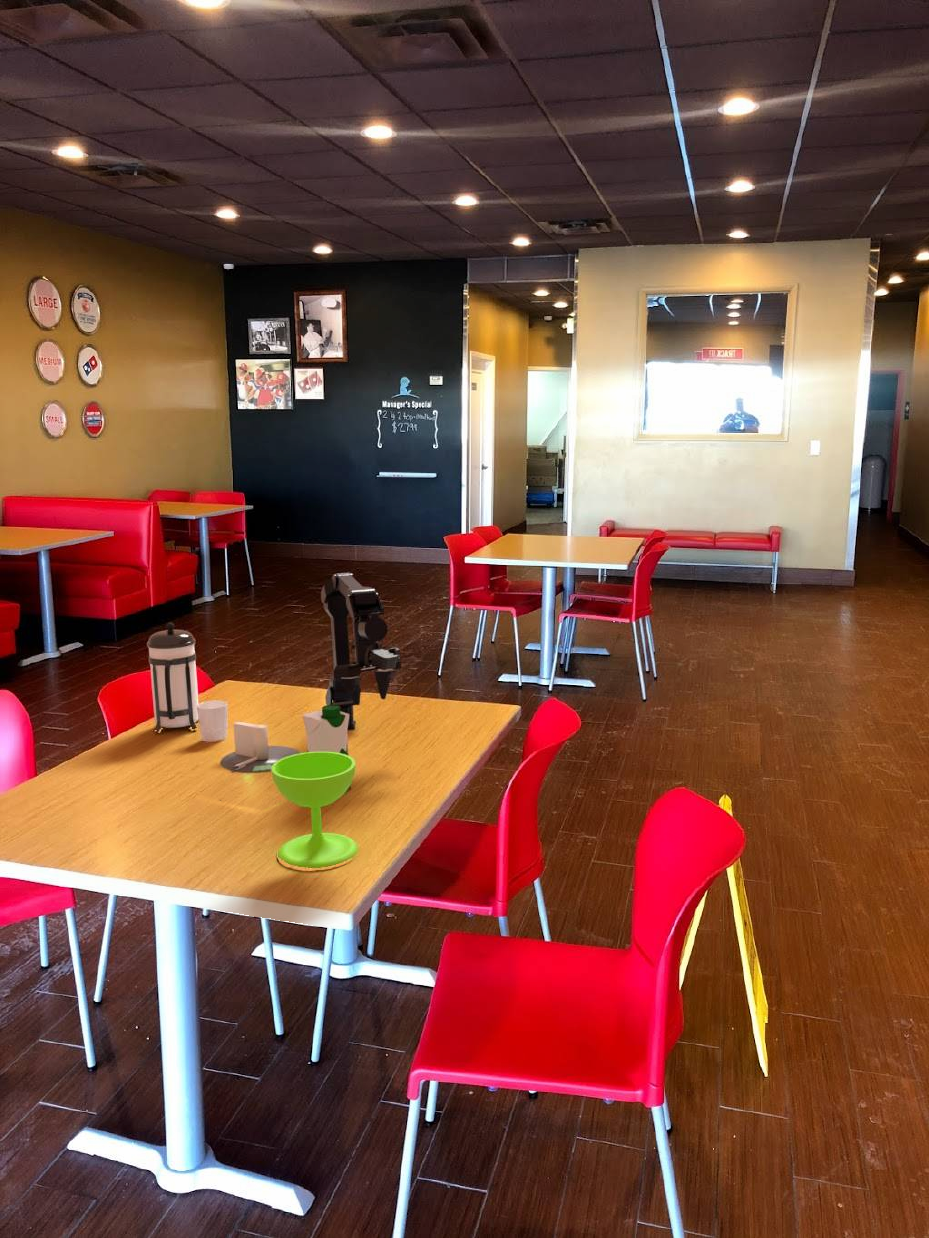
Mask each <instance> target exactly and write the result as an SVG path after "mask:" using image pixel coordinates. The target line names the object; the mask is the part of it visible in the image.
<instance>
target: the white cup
mask: <svg viewBox="0 0 929 1238" xmlns="http://www.w3.org/2000/svg"><path fill="white" fill-rule="evenodd" d="M197 712H198V721H199V722H198V727H199V732H200V736H201V742H202V741H205V742H221V741H223V740H226V739H227V738H228V728H229V727H228V725H229V723H228V717H229V715H228V714H229V713H228V702H227V701H225V700H216V699H215V700H207V701H202V702H198V705H197Z"/></svg>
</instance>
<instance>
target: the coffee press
mask: <svg viewBox="0 0 929 1238" xmlns="http://www.w3.org/2000/svg"><path fill="white" fill-rule="evenodd" d="M165 625H166V626H165V629H166V630H161V631H157V632H154V633H153V634H151V635H150V637H149V638H148V641H147V643H146V646H147V648H148V654H149V655H148V663H149V666H150V667H149V668H150V678H151V690H152V701H153V702H152V703H153V713H154V714H153V715H154V722H155V727H154V729H153V731H154V730H157V731H158V730H159V729H160V728H161V727H162V728H163V730H164V729H166V728H168V729H169V728H170V729H172V728H173V729H174V728H176V729H177V728H183V727H185V728H187V729H188V728H190V727H192V729H195V728H197V727H198V726H197V725H196V722H197V720H198V712H197V705H198V704H199V694H198V693H199V692H198V691H199V690H198V679H197V678H198V677H197V666H196V660H197V654H196V651H195V644H196V638H195V637H194V636H193V634H192V633H191V632H190V631H188V630H184V629H174V628H175V624H174V623H173V622H167V623H166V624H165Z"/></svg>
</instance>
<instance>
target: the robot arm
mask: <svg viewBox="0 0 929 1238" xmlns="http://www.w3.org/2000/svg"><path fill="white" fill-rule="evenodd" d="M379 595H380V594H379V593H378V592H377V591H376V589H375V588H373V587H371V586H363V585H362V584H360V582H358V581H357V580H356V579H355V577H354V574H353V573H352V572H351V573H350V572H340V573H338V572H337V573H335V574H332V577H331V578H330V579H329V580H328V581H326V582H325V583H324V584H323V586H322V587H321V592H320V600H321V603H322V604H323V610H325V612H326V613H327V615H328V616H329V618H330V628H331V629H330V630H331V641H332V656H333V657H332V658H333V659H332V660H333V669H332V674H331V675H330V677H329V679H328V683H329V684H328V685H329V686H328V687H327V689H326V694H325V697H324V699H325V704H326V705H338V706H340V711H341V712H344V713H347V714H349V722H348V729H347V730H354V729H356V723H357V721H356V720H354V719H355V717H354V706H360V704H361V693H362V688H361V687H360V683H361V681H362V679H363V677H362V676H360V675H361V674H362V673H365V672H371V671H374V676H375V681H376V685H377V688H378V694H379V696H380V699H381V700H386V697H387V693H388V690H389V686H390V683H391V680H392V678H393V676H394V675H395V674H397V673H398V672H399V670H400V669H402V661H401V651H400V648H399V647H398V648H397V647H391V648H390V649H387V650H386V649H383V644H382V642H381V641H382V640H384V638H386V636H387V635H388V630H389V629H388V628H389V627H388V625H387V623H386V621H385V620H384V619H383V618H380V617H379V616H384V613H385V612H384V611H385V608H384V604H383V603H382V600H381V597H380V596H379ZM349 615H350V617H351V619H352V630H353V642H354V644H350V641H349V640H350V639H349V638H350V637H349V624H348V617H349ZM350 648H351V650H354V656H355V660H352V661H351V654H350ZM351 662H352V664H351ZM326 705H325V706H326Z"/></svg>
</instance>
